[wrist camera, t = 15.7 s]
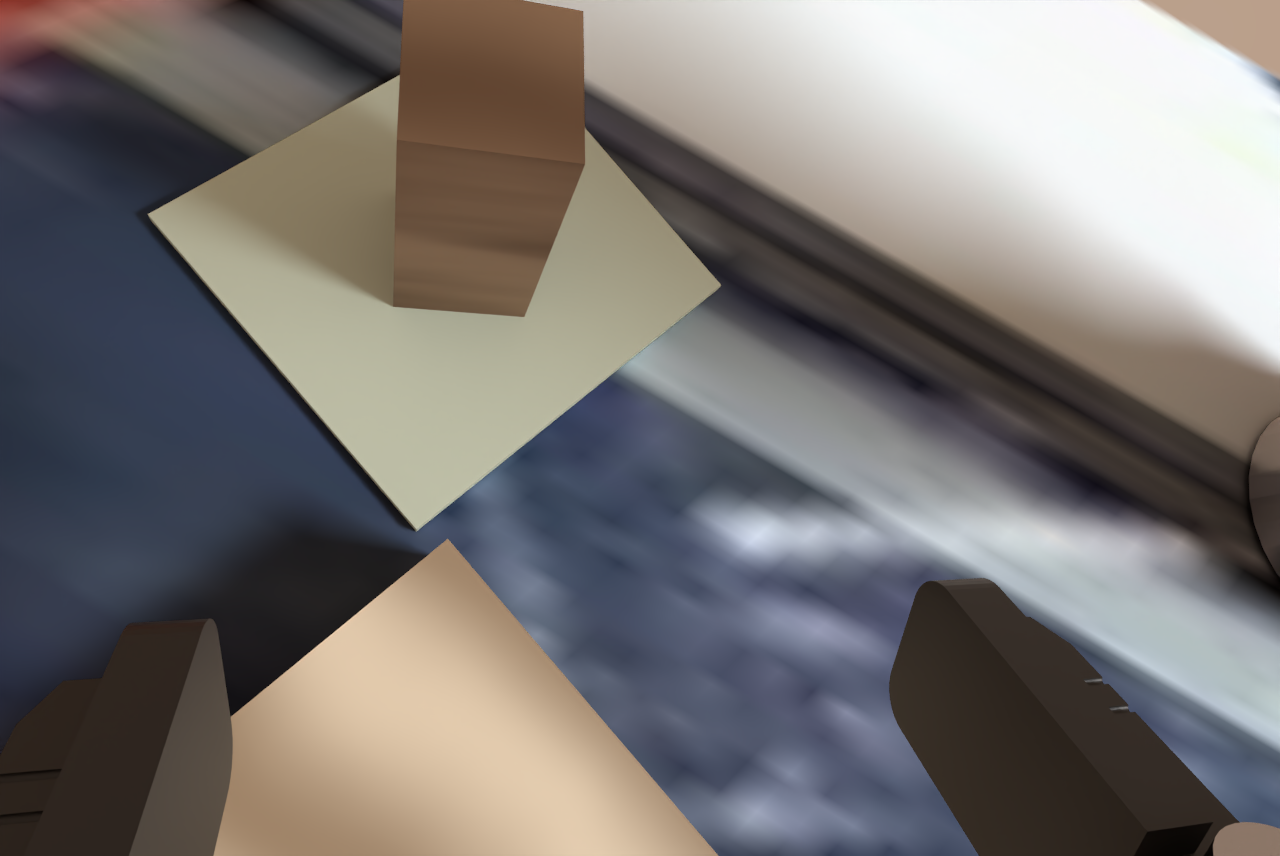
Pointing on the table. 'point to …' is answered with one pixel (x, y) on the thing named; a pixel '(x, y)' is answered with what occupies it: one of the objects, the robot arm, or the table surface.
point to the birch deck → (437, 743)
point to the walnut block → (484, 150)
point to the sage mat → (419, 338)
